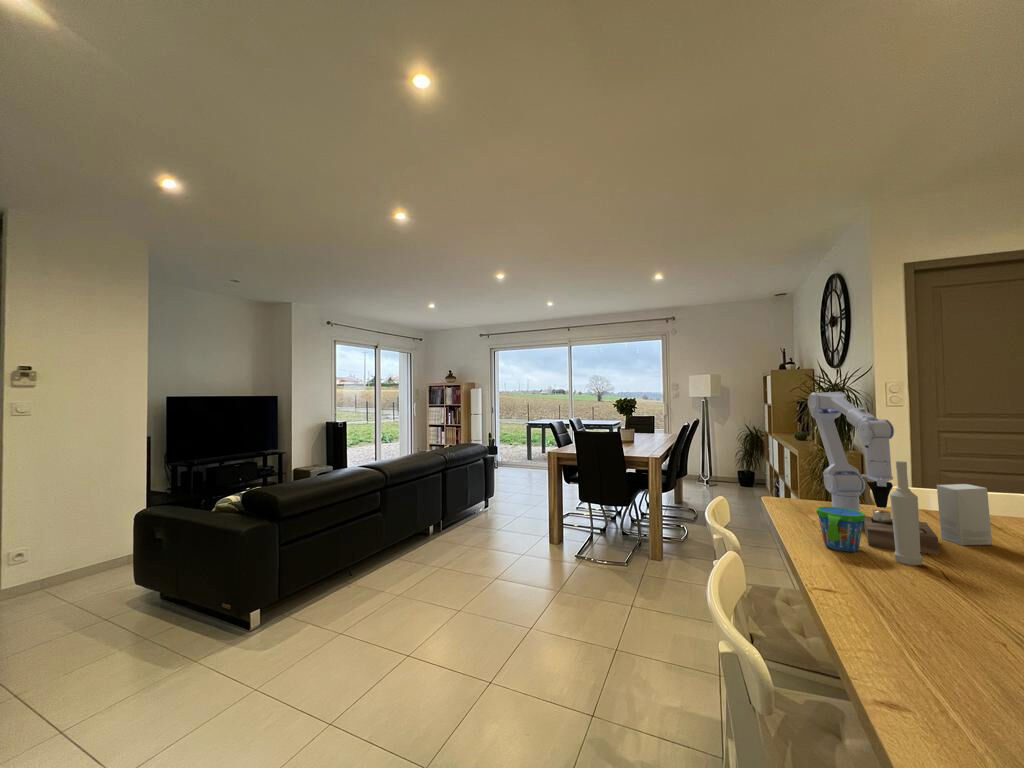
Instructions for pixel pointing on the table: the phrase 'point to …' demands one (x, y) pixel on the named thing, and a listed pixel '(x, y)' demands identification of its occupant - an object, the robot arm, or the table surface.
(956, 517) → the skincare box
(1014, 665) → the table surface
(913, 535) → the bottle
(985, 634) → the table surface
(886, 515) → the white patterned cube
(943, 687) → the table surface
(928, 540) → the walnut block
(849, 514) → the snack cup
